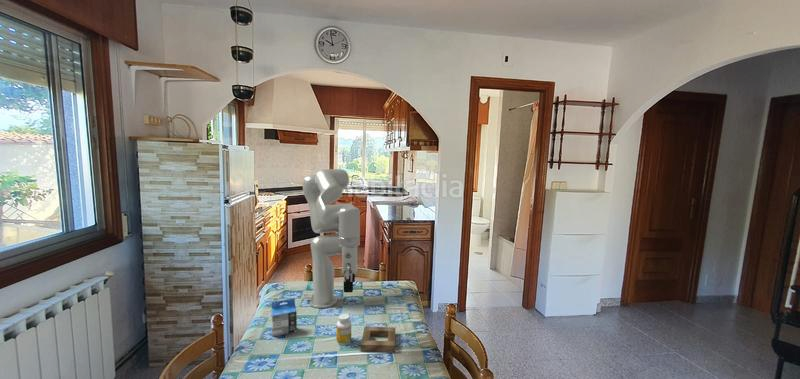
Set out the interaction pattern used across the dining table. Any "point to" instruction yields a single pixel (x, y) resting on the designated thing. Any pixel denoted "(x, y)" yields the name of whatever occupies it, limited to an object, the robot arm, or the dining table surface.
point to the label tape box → (284, 317)
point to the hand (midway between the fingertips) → (349, 286)
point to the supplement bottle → (344, 329)
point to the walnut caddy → (378, 345)
